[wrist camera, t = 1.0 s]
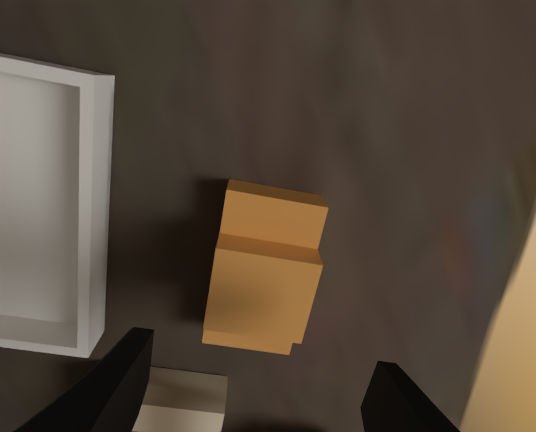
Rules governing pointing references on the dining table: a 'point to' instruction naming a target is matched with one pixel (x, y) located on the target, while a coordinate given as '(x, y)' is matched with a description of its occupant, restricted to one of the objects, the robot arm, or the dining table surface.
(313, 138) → the dining table surface
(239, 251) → the tan stepped block
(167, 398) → the pin socket
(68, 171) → the parts tray
